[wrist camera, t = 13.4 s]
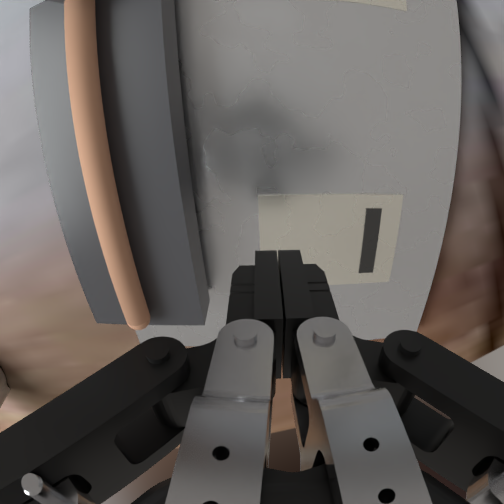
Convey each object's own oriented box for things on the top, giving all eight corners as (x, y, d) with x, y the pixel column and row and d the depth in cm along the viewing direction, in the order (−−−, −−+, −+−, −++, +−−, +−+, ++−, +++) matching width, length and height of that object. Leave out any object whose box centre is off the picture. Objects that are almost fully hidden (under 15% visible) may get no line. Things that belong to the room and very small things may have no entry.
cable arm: (55, -35, 8) (7, -52, 4) (172, -75, 8) (144, -114, 4) (109, 300, 17) (82, 349, 14) (209, 300, 17) (198, 355, 13)
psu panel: (410, 324, 19) (416, 335, 18) (144, 333, 20) (139, 345, 19) (422, -103, 6) (430, -110, 5) (93, -96, 7) (85, -103, 6)
